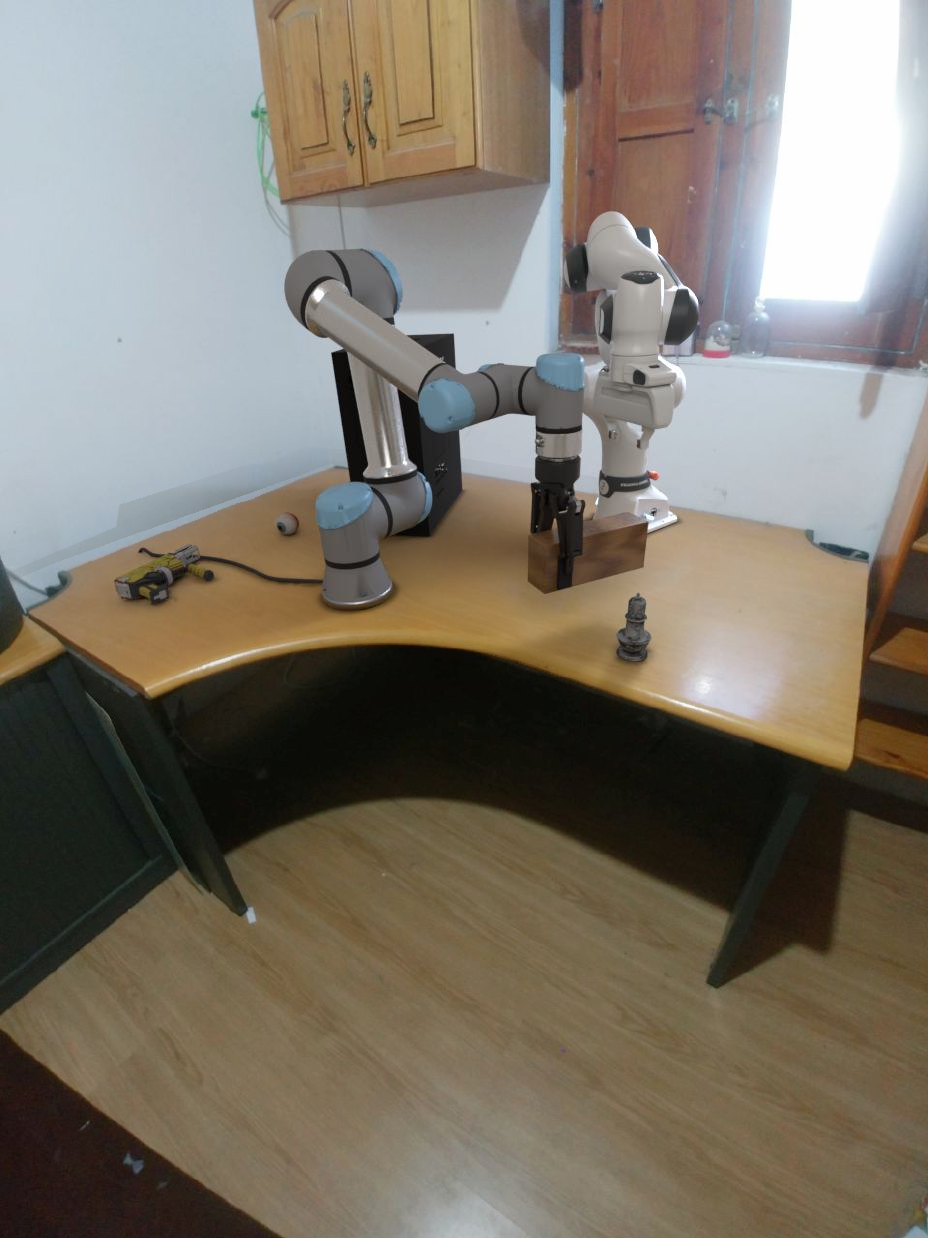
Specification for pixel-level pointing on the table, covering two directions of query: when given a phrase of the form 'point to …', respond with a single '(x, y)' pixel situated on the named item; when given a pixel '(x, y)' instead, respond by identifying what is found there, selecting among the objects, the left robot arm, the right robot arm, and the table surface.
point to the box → (590, 551)
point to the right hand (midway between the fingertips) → (626, 443)
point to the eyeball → (287, 523)
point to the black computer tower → (407, 436)
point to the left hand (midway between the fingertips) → (554, 580)
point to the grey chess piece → (634, 631)
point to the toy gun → (160, 575)
